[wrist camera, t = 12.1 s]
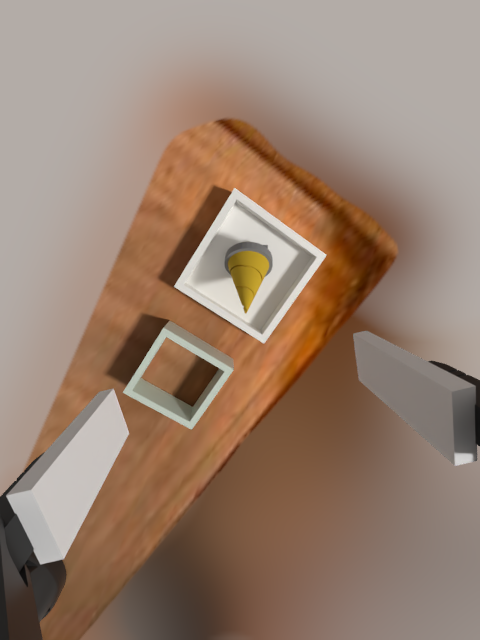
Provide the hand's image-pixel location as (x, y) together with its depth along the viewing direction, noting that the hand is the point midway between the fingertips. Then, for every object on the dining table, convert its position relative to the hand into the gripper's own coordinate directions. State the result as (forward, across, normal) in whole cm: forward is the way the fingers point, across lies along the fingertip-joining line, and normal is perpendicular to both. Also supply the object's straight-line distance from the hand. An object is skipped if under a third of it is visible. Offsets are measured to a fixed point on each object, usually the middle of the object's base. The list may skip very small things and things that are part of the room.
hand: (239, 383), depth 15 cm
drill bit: (+20, -4, -4) cm, 21 cm away
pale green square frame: (+21, +8, +6) cm, 23 cm away
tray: (+21, -4, -4) cm, 22 cm away
